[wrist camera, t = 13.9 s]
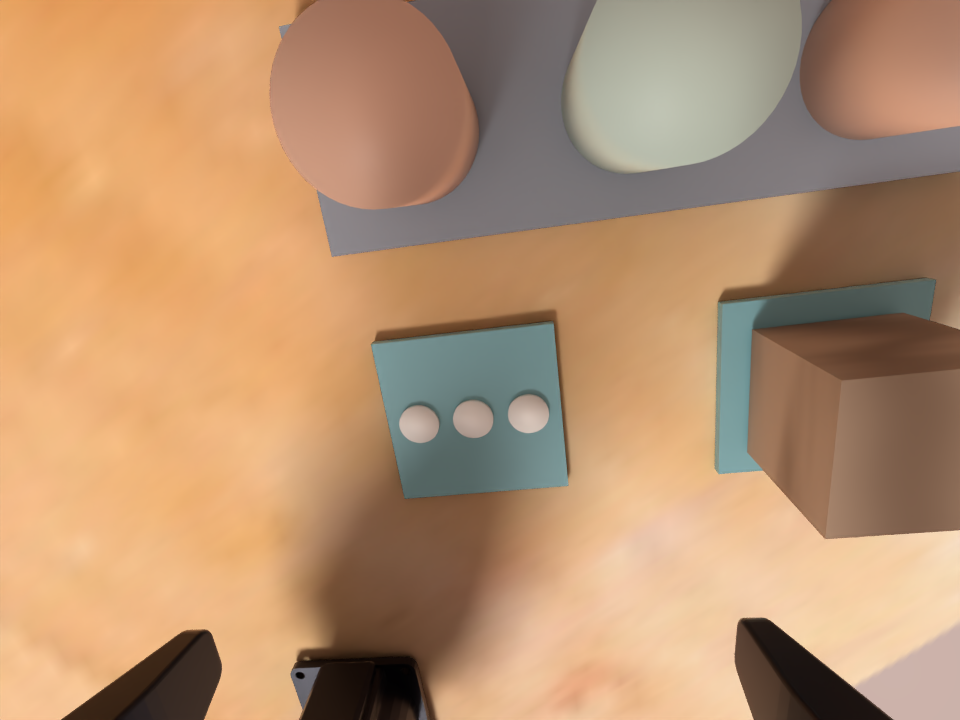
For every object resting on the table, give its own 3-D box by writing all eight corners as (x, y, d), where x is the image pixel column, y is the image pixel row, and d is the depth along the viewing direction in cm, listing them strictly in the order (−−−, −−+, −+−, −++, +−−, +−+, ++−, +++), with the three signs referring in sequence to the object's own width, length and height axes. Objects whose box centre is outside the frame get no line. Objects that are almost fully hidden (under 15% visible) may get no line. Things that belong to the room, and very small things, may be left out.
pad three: (567, 480, 20) (568, 488, 20) (406, 493, 21) (403, 501, 21) (552, 320, 18) (554, 325, 18) (373, 341, 19) (369, 346, 18)
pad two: (899, 453, 19) (910, 461, 19) (714, 468, 20) (720, 476, 19) (926, 277, 17) (940, 280, 16) (718, 302, 18) (725, 305, 17)
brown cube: (903, 312, 17) (1056, 359, 12) (885, 440, 18) (1014, 526, 14) (752, 329, 17) (841, 380, 13) (747, 452, 19) (824, 538, 14)
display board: (960, 169, 16) (1211, 155, 10) (341, 253, 18) (262, 281, 12) (1004, -98, 14) (1358, -307, 8) (292, 36, 16) (169, -52, 10)
